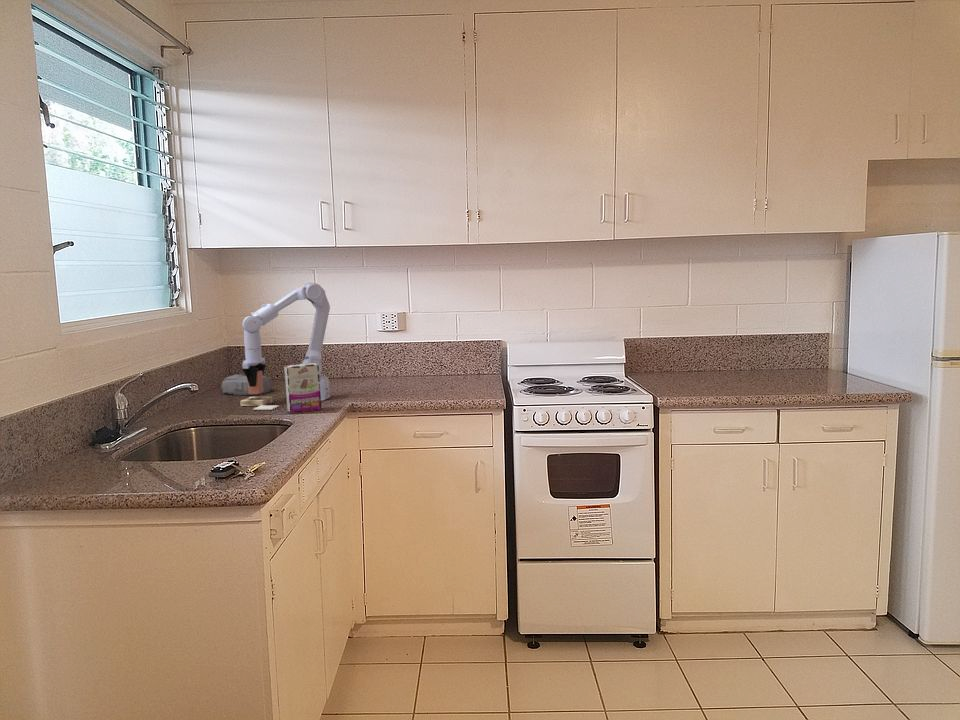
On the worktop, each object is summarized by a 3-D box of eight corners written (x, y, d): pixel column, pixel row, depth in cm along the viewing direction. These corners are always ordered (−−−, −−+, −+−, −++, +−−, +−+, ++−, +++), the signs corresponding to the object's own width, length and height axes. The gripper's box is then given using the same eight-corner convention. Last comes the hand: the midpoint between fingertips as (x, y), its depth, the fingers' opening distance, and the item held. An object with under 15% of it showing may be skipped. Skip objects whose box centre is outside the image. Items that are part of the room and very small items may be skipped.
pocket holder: (272, 402, 271) (272, 396, 270) (262, 406, 262) (262, 400, 262) (251, 402, 272) (250, 396, 272) (240, 406, 264) (240, 400, 263)
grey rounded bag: (276, 391, 297) (238, 389, 305) (275, 371, 296) (237, 369, 304) (251, 397, 283) (212, 395, 291) (250, 376, 282) (211, 374, 290)
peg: (263, 391, 268) (262, 370, 267) (258, 393, 264) (257, 372, 263) (253, 391, 269) (251, 370, 268) (248, 393, 265) (246, 372, 264)
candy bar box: (318, 407, 258) (315, 362, 256) (321, 410, 253) (319, 363, 251) (286, 411, 253) (283, 365, 251) (289, 413, 248) (287, 366, 246)
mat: (279, 407, 261) (279, 405, 261) (271, 410, 255) (271, 408, 255) (261, 406, 262) (260, 405, 262) (253, 410, 256) (252, 408, 256)
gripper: (251, 346, 272) (254, 382, 274) (233, 351, 258) (236, 388, 260) (269, 346, 271) (271, 382, 273) (252, 351, 257) (254, 388, 259)
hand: (255, 385), depth 266 cm, fingers closed on peg, 4 cm apart
